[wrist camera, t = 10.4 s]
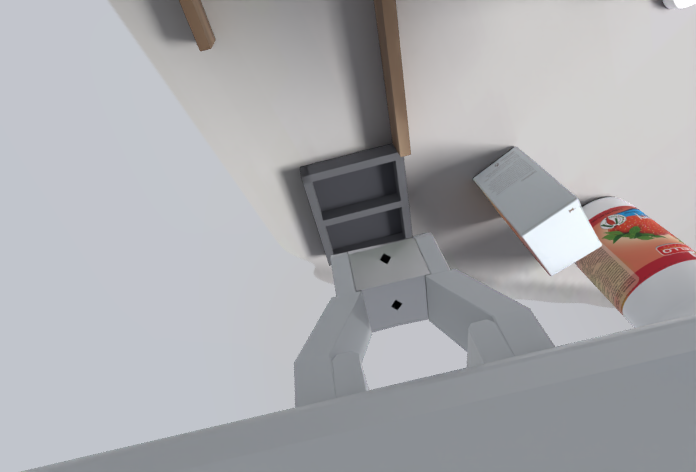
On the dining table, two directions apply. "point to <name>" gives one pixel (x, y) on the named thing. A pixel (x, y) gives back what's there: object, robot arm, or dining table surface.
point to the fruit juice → (639, 264)
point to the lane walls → (389, 56)
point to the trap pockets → (359, 199)
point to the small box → (538, 210)
